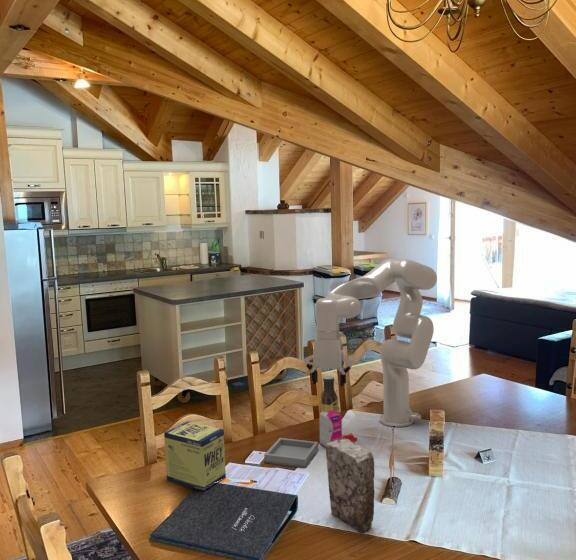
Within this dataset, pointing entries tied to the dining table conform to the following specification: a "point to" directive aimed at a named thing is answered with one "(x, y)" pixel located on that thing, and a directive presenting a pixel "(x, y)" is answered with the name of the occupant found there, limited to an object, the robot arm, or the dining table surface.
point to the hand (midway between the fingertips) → (328, 384)
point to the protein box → (195, 454)
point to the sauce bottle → (329, 395)
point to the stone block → (351, 483)
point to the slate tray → (291, 452)
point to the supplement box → (330, 427)
